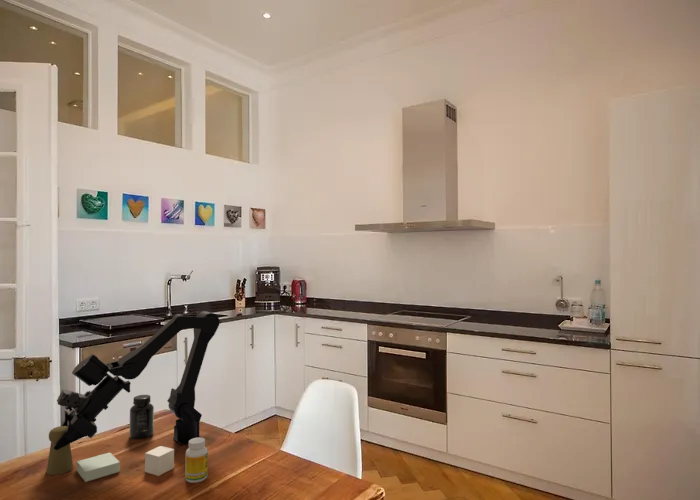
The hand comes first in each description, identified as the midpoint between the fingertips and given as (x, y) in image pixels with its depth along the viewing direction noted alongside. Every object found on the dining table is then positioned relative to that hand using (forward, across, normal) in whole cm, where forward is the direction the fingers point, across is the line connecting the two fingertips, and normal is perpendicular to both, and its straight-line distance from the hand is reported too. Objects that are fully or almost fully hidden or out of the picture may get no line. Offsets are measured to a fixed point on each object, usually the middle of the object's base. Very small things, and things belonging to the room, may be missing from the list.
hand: (53, 445), depth 120 cm
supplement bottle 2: (-16, +26, +25) cm, 39 cm away
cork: (+4, 0, +6) cm, 7 cm away
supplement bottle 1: (-12, -12, +22) cm, 28 cm away
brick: (-11, +16, +21) cm, 28 cm away
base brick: (-2, +7, +11) cm, 13 cm away
